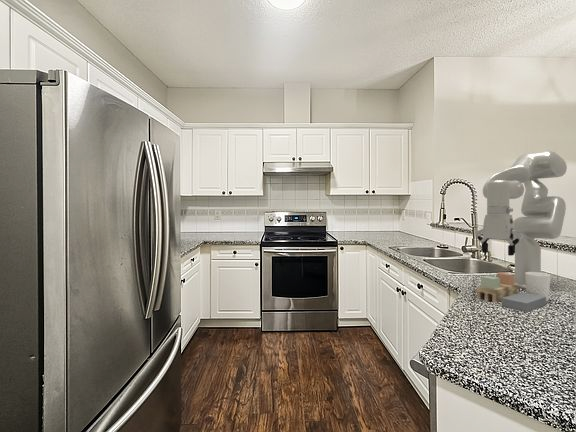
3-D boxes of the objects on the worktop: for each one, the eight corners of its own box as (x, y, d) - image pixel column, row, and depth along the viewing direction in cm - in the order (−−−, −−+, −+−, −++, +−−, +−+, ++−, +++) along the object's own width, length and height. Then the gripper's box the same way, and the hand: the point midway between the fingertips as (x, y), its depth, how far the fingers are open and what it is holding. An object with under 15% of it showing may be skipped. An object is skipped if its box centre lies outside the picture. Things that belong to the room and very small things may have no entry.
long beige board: (500, 292, 138) (500, 281, 138) (518, 296, 132) (518, 284, 132) (476, 299, 128) (476, 286, 128) (495, 303, 122) (495, 290, 122)
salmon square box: (501, 281, 136) (501, 272, 136) (514, 284, 132) (514, 274, 132) (496, 282, 134) (496, 273, 134) (509, 285, 130) (509, 275, 130)
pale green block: (486, 285, 130) (486, 275, 130) (499, 287, 126) (499, 277, 126) (480, 286, 128) (480, 276, 128) (494, 289, 124) (494, 278, 124)
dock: (521, 299, 125) (521, 292, 125) (546, 304, 119) (546, 296, 119) (501, 306, 118) (501, 298, 118) (526, 312, 111) (526, 303, 111)
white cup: (546, 297, 128) (547, 272, 128) (553, 303, 121) (553, 276, 121) (522, 295, 131) (522, 271, 131) (527, 300, 124) (527, 275, 124)
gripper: (527, 211, 124) (527, 255, 124) (480, 211, 139) (480, 251, 139) (517, 211, 120) (517, 257, 120) (471, 211, 135) (470, 252, 135)
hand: (497, 253), depth 129 cm, fingers open, 9 cm apart
